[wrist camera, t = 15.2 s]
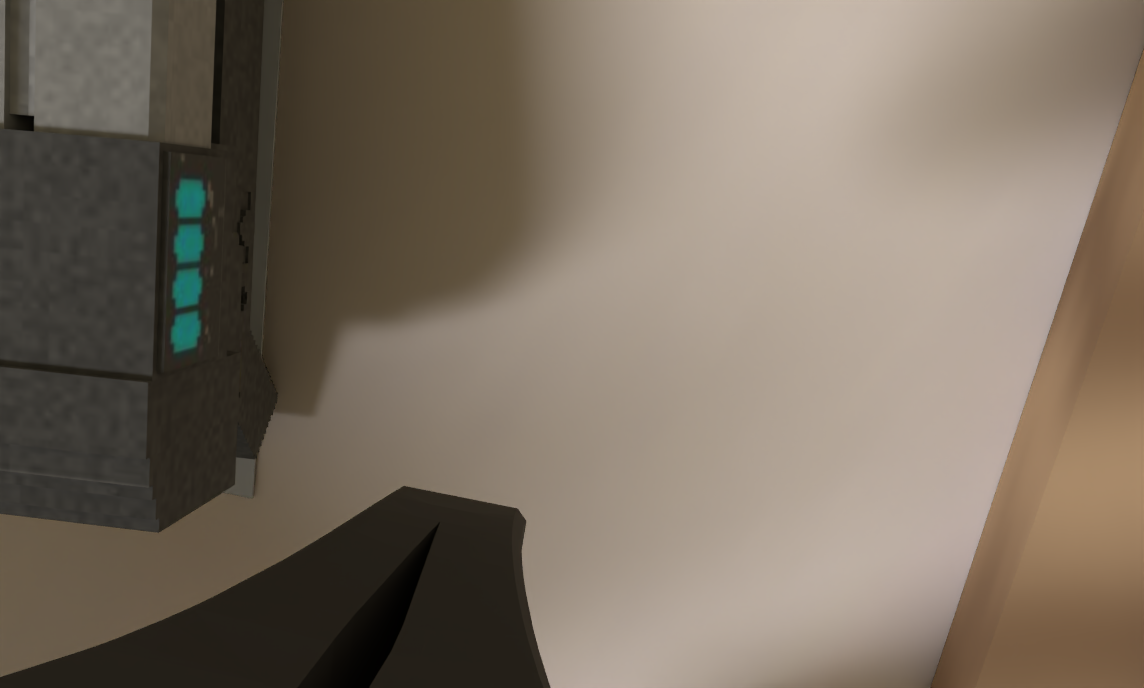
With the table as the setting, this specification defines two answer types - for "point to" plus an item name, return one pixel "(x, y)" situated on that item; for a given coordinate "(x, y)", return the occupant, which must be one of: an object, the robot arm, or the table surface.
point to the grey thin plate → (262, 201)
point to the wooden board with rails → (1072, 474)
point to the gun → (128, 257)
